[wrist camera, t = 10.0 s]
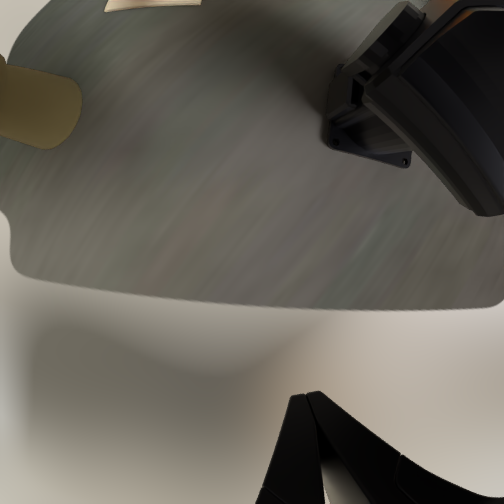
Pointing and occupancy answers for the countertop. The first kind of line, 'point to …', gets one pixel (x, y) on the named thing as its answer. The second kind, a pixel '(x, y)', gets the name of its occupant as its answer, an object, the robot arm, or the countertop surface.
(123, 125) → the countertop surface
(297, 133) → the countertop surface
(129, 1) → the beige rectangular sheet
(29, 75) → the cork
